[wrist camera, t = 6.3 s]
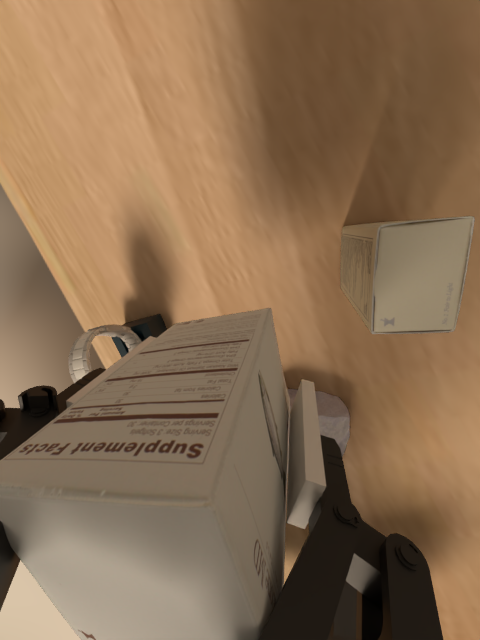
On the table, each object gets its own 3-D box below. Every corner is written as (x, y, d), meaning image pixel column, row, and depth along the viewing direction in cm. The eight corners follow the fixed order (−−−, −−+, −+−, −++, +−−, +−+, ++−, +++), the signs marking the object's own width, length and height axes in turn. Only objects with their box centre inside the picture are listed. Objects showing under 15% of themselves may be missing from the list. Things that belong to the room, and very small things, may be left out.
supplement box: (292, 399, 18) (287, 705, 7) (199, 404, 20) (70, 646, 9) (274, 303, 16) (219, 514, 4) (172, 319, 18) (-54, 493, 6)
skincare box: (385, 286, 25) (457, 337, 14) (337, 288, 26) (369, 338, 15) (391, 218, 23) (483, 213, 12) (339, 224, 24) (377, 224, 13)
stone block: (345, 384, 32) (267, 383, 32) (362, 412, 27) (271, 410, 27) (329, 450, 36) (261, 449, 36) (341, 483, 32) (264, 481, 32)
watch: (145, 364, 35) (83, 421, 25) (119, 311, 32) (39, 350, 22) (179, 356, 33) (129, 415, 23) (154, 300, 31) (86, 337, 21)
